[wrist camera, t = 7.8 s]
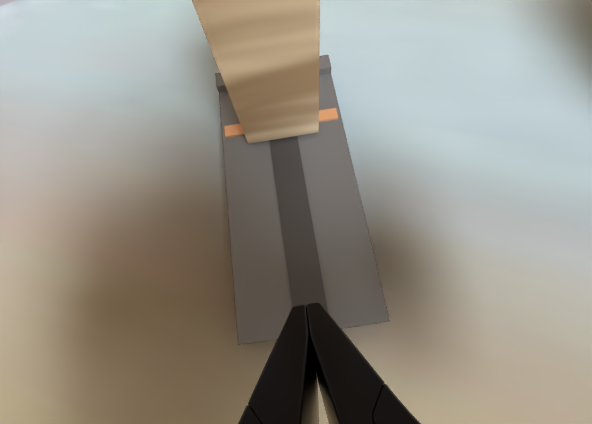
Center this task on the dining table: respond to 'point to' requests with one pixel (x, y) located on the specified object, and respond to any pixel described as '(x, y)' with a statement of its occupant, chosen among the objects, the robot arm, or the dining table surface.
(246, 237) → the fader track
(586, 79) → the dining table surface
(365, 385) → the robot arm
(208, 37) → the lever
